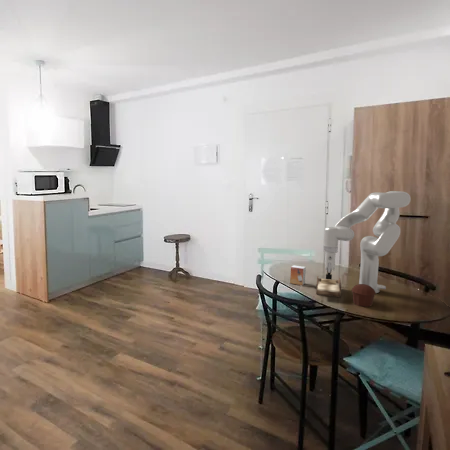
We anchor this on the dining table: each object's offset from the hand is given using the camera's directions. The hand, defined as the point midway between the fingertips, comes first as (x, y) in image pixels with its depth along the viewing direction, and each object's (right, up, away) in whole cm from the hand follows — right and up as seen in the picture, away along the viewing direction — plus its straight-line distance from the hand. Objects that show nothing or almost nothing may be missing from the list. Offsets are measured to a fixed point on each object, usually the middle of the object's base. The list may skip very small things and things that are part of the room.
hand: (328, 281), depth 196 cm
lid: (-2, -2, -7) cm, 8 cm away
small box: (-14, -4, +17) cm, 22 cm away
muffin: (+13, -9, -17) cm, 23 cm away
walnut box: (0, -6, +2) cm, 7 cm away
